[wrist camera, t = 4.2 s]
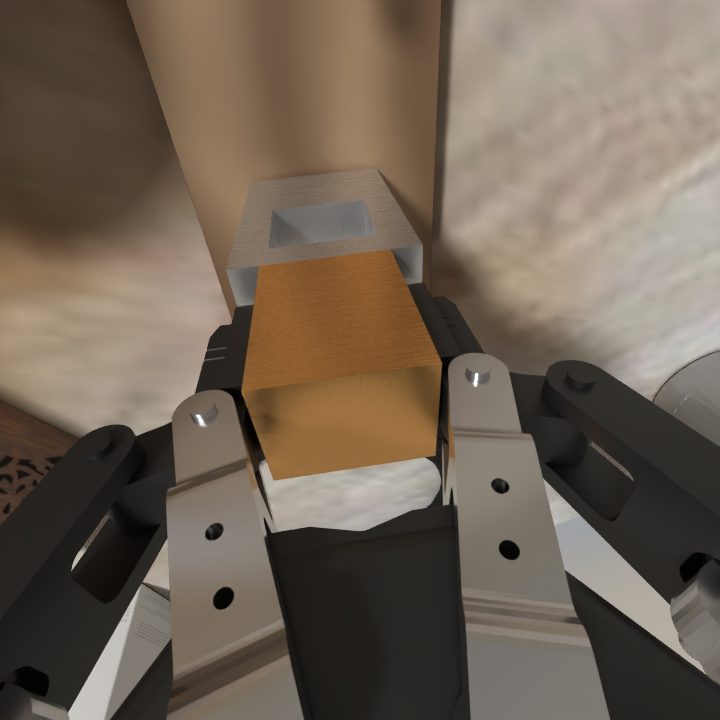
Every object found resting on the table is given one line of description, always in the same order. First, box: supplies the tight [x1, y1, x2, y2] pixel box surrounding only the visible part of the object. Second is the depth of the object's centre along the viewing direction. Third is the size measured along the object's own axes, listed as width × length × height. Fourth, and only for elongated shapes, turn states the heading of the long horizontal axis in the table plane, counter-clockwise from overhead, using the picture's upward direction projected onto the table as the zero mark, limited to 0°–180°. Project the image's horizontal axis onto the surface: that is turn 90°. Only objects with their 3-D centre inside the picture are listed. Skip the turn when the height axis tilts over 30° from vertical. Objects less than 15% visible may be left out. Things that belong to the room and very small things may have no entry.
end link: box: [226, 168, 442, 480], centre depth 17 cm, size 6×9×15 cm, turn 4°
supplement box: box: [68, 584, 172, 720], centre depth 43 cm, size 9×9×15 cm
